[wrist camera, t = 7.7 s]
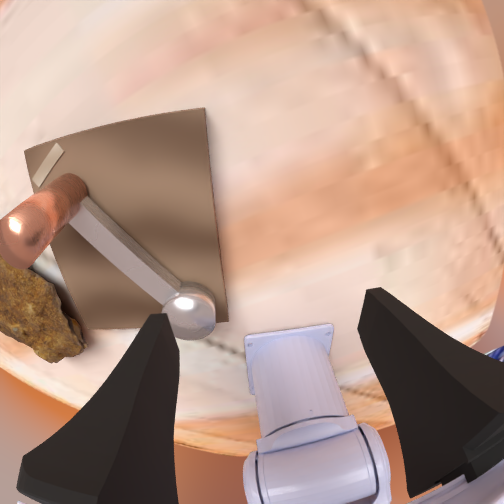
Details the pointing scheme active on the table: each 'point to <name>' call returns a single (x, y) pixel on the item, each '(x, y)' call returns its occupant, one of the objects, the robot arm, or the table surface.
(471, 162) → the table surface
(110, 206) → the board
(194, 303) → the lever
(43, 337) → the decorative rock
